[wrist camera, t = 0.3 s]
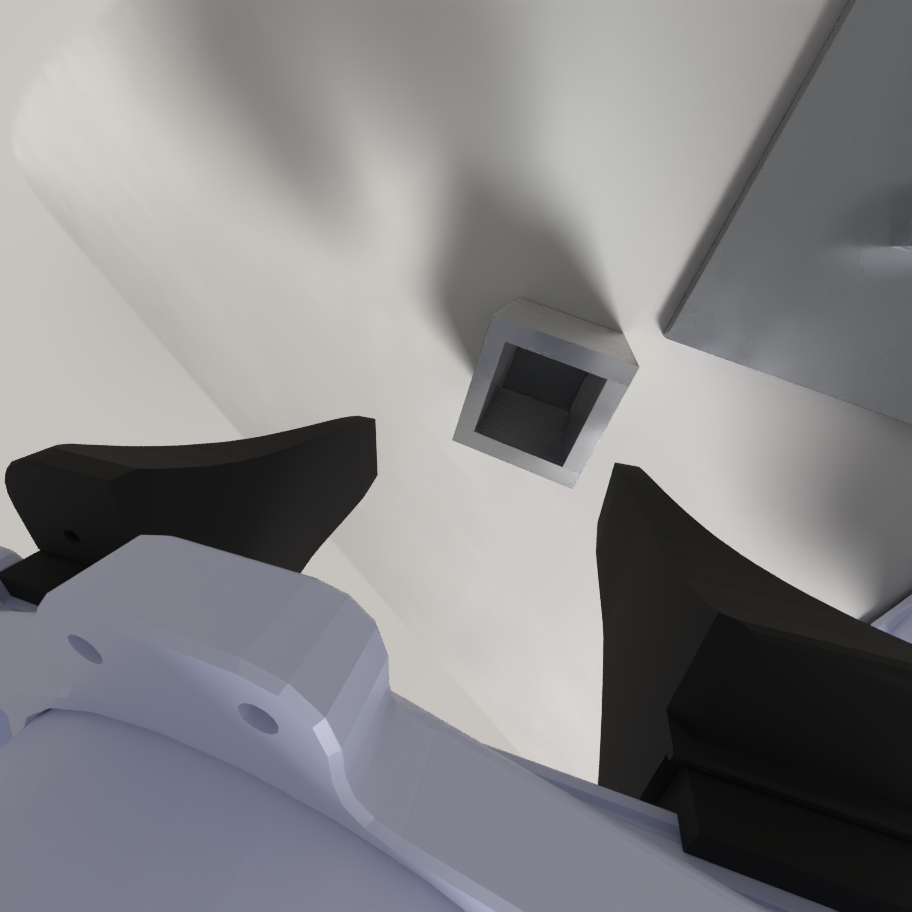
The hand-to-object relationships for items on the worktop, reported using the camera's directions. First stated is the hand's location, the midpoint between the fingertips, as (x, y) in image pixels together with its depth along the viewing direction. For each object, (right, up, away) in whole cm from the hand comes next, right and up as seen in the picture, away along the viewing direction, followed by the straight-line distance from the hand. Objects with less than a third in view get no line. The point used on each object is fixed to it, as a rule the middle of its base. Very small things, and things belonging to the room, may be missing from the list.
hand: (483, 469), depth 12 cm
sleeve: (+4, +5, +7) cm, 10 cm away
